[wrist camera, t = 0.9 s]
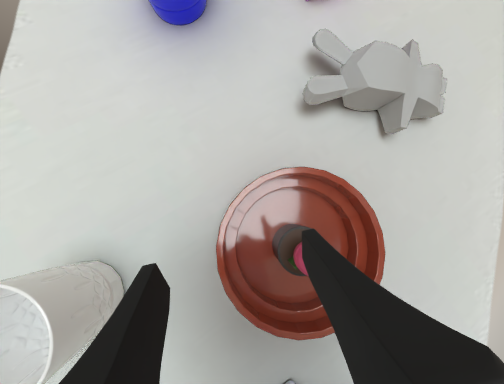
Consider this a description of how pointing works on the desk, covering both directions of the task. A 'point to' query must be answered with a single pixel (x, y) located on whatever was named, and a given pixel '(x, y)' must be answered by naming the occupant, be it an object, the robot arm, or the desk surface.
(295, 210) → the bowl
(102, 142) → the desk surface
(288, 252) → the tulip
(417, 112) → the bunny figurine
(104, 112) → the desk surface
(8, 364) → the white cup
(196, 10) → the hyacinth
